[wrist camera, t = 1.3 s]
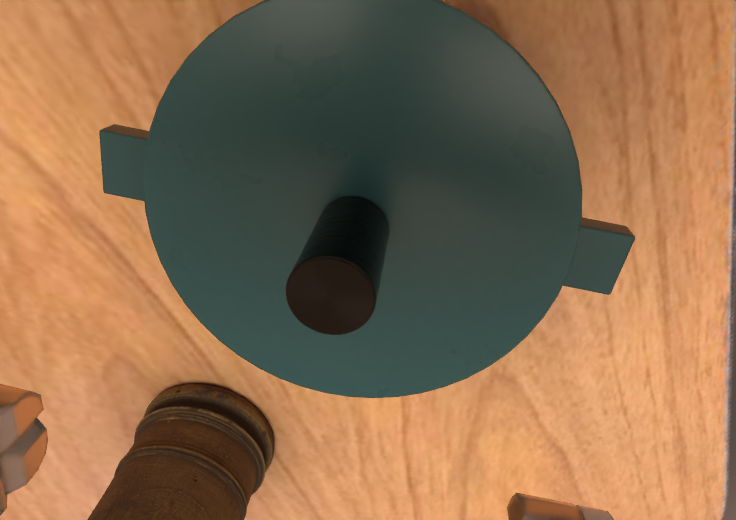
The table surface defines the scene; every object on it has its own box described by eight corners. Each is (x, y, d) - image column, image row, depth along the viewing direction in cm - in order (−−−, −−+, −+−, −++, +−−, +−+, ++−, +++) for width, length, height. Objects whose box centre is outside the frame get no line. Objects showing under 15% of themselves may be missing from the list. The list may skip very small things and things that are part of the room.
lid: (154, -60, 16) (20, -82, 11) (646, 34, 15) (750, 56, 10) (161, 339, 22) (81, 440, 17) (503, 410, 22) (523, 535, 17)
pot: (199, -39, 24) (71, -55, 15) (620, 40, 23) (724, 69, 15) (195, 232, 30) (102, 326, 22) (526, 300, 30) (563, 422, 21)
